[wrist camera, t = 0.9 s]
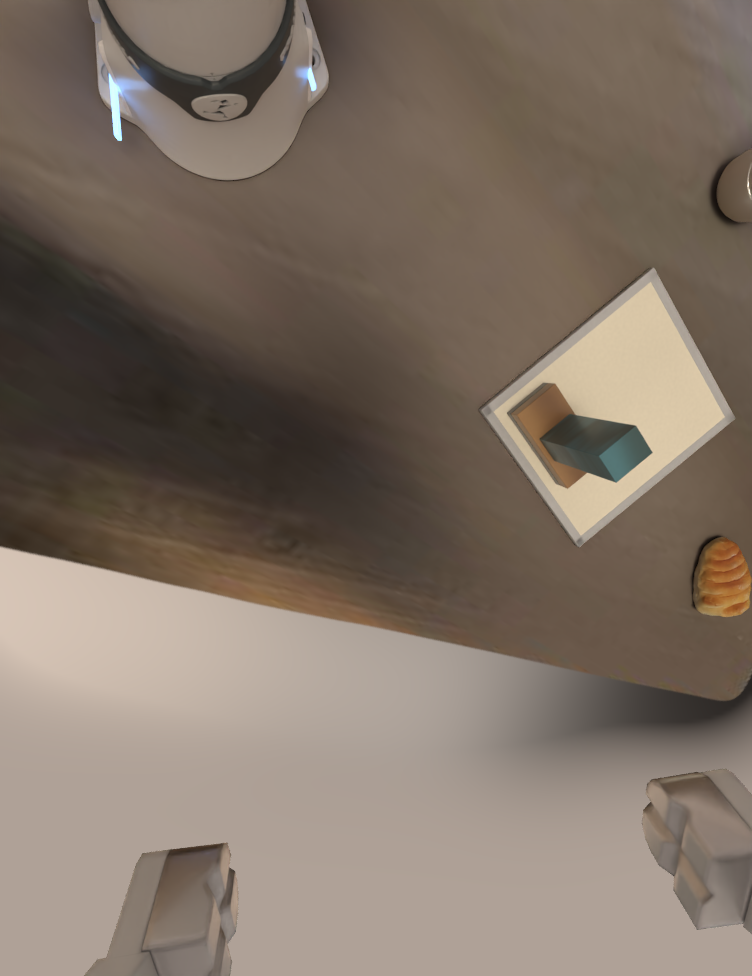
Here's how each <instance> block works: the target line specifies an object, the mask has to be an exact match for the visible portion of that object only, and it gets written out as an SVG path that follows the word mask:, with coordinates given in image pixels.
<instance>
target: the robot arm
mask: <svg viewBox="0 0 752 976" xmlns="http://www.w3.org/2000/svg"><path fill="white" fill-rule="evenodd" d="M88 6H89V12H90V16H91V19H92V21H93V22H95V40H96V57H97V74H98V88H99V93H100V96H101V98H102V100H103V102H104V104H105V105H106V106H107V107H108V108H109V109H110V110H111V111H112V117H113V128H114V136H115V137H116V139H117V140H121V141H122V137H121V125H120V117H122V118H124V119H126V120H127V121H129V122H131V123H133V124H135V125H137V126H138V127H139V128H140V129H142V130H143V131H144V132H145V133H146V134H147V136H148V137H149V138H150V139H151V140H152V141H153V143H154V144H155V145H156V146H157V147H158V148H159V149H160V150H161V151H162V152H163V153H164V154H165V155H166V156H167V157H169V158H170V159H171V160H172V161H174V162H175V163H177V164H178V165H179V166H181V167H183V168H185V169H186V170H188V171H190V172H192V173H195V174H197V175H200V176H203V177H207V178H211V179H217V180H239V179H244V178H248V177H252V176H254V175H257V174H259V173H261V172H263V171H265V170H267V169H268V168H270V167H271V166H272V165H274V164H275V163H276V162H277V161H278V160H279V159H280V158H281V157H282V156H283V155H284V154H285V153H286V151H287V150H288V149H289V147H290V146H291V144H292V142H293V141H294V139H295V137H296V135H297V132H298V130H299V127H300V125H301V122H302V120H303V118H304V116H305V114H306V112H307V111H308V110H309V109H310V108H311V107H312V106H313V105H314V104H315V103H316V102H317V101H318V100H319V99H320V98H321V97H322V96H323V95H324V94H325V92H326V90H327V88H328V85H329V74H328V69H327V66H326V63H325V60H324V57H323V53H322V50H321V47H320V44H319V41H318V38H317V34H316V31H315V28H314V25H313V22H312V19H311V16H310V12H309V9H308V6H307V3H306V0H88ZM312 60H313V61H314V63H315V64H314V65H313V66H312ZM646 795H647V796H648V798H649V799H650V801H651V802H650V803H649V804H648V805H647V807H646V808H645V809H644V810H643V818H642V825H643V830H644V834H645V838H646V841H647V843H648V846H649V848H650V851H651V853H652V854H653V856H654V858H655V859H656V861H657V863H658V865H659V866H661V867H662V868H663V869H665V870H666V871H667V872H669V873H670V874H672V875H673V876H674V892H675V894H676V895H677V897H678V898H679V900H680V902H681V904H682V905H683V907H684V909H685V910H686V912H687V914H688V915H689V917H690V919H691V920H692V922H693V924H694V926H695V927H696V929H697V930H699V929H706V928H714V927H722V926H729V925H737V924H744V926H743V927H744V928H746V929H747V930H748V931H749V932H750V933H751V934H752V794H751V793H750V792H749V791H748V790H747V788H746V787H745V786H744V785H743V784H742V783H741V782H740V780H739V779H738V778H737V777H736V776H735V775H734V774H733V773H732V772H730V771H729V770H727V769H718V770H712V771H706V772H701V773H698V772H694V773H688V774H682V775H676V776H670V777H664V778H658V779H652V780H651V781H650V782H649V783H648V784H647V789H646ZM230 857H231V853H230V850H229V847H228V843H221V844H213V845H204V846H196V847H188V848H180V849H170V850H163V851H156V852H149V853H143V854H142V855H141V857H140V859H139V860H138V862H137V864H136V866H135V869H134V873H133V875H132V879H131V882H130V885H129V888H128V892H127V894H126V898H125V901H124V904H123V907H122V910H121V913H120V916H119V920H118V923H117V926H116V929H115V932H114V935H113V938H112V941H111V945H110V948H109V951H108V954H107V957H106V958H103V959H98V960H97V961H96V962H95V963H94V964H93V965H92V967H91V968H90V969H89V970H88V972H87V973H86V974H85V975H84V976H230V972H231V964H232V960H231V956H230V953H229V948H228V943H229V941H230V940H231V938H232V937H233V935H234V934H235V932H236V925H237V916H238V885H237V878H236V874H235V871H234V870H232V869H231V868H229V864H230Z"/></svg>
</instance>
